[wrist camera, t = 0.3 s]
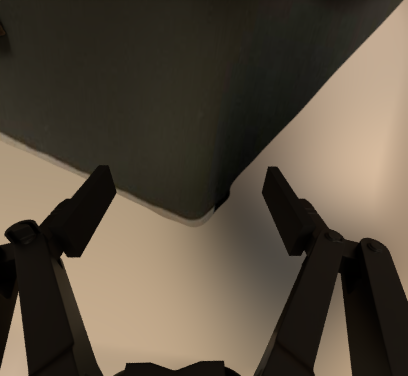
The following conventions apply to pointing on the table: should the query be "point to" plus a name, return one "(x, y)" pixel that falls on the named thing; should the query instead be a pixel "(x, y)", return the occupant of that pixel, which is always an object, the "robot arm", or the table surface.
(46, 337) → the robot arm
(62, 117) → the table surface
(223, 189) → the table surface
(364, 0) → the table surface
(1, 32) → the beverage carton
